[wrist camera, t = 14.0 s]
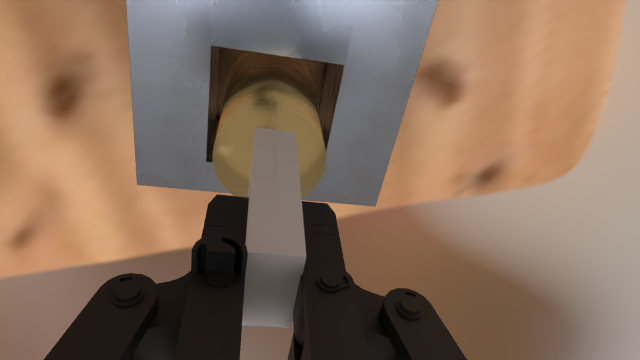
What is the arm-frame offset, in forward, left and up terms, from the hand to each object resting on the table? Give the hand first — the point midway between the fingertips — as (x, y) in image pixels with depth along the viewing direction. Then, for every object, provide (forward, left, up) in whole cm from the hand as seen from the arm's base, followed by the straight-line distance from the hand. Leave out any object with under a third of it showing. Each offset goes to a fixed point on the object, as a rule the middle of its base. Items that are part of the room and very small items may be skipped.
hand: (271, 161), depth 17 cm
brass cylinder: (0, 0, -8) cm, 8 cm away
